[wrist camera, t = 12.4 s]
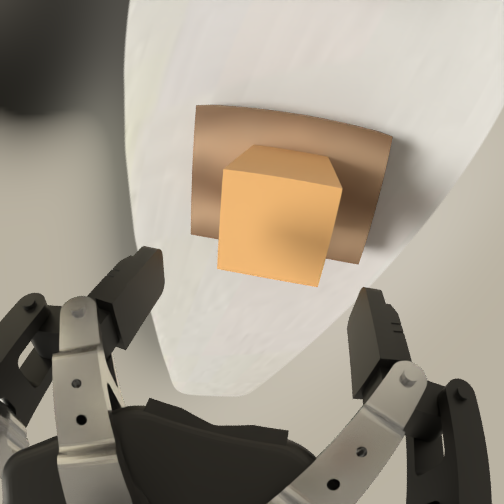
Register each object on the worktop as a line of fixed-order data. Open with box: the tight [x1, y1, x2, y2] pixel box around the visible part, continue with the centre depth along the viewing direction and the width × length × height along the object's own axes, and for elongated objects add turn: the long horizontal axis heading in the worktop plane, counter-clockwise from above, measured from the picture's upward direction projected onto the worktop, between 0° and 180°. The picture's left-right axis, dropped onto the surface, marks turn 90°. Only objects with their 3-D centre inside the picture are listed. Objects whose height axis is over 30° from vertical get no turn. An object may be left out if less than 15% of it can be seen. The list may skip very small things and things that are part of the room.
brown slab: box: [191, 105, 392, 264], centre depth 22 cm, size 12×16×10 cm
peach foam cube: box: [217, 145, 342, 287], centre depth 20 cm, size 9×6×9 cm, turn 174°
